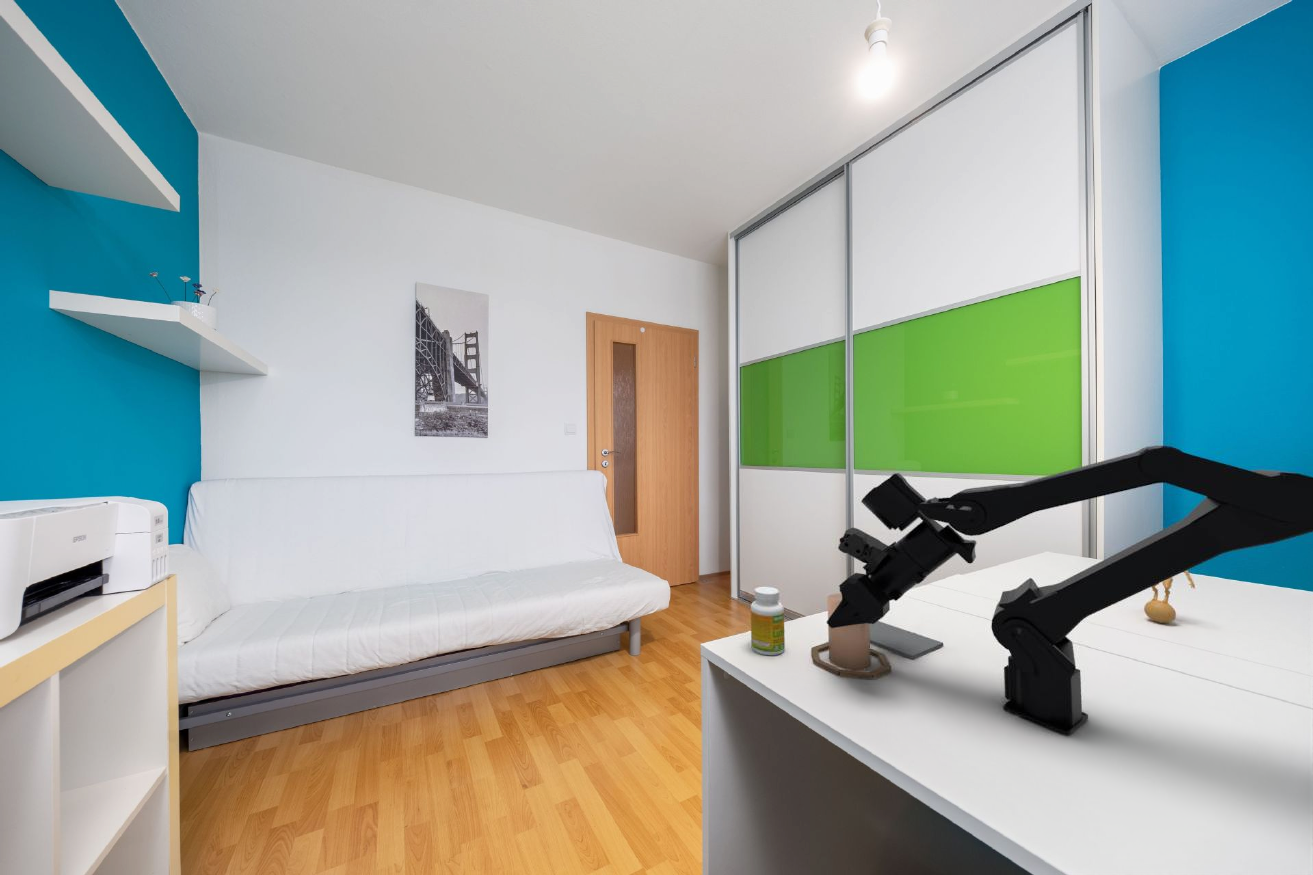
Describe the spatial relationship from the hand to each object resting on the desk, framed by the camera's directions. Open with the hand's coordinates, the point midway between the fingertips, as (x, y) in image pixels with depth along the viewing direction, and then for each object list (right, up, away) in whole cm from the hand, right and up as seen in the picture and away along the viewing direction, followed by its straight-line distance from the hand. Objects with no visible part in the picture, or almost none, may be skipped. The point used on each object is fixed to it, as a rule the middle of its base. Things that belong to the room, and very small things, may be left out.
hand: (839, 616), depth 73 cm
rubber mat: (+12, -7, +7) cm, 15 cm away
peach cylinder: (+1, -7, -1) cm, 7 cm away
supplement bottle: (-10, -7, +4) cm, 13 cm away
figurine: (+66, -6, +13) cm, 67 cm away
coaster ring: (+1, -7, -1) cm, 7 cm away
